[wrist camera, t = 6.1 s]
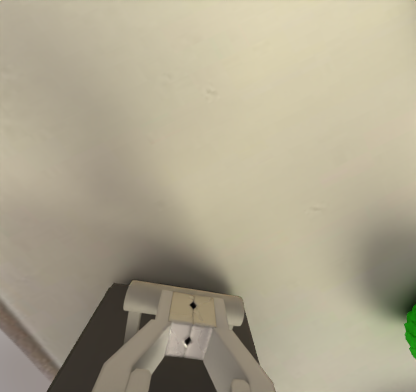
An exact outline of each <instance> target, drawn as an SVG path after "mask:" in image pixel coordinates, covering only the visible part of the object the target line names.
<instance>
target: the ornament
mask: <svg viewBox="0 0 416 392" xmlns="http://www.w3.org/2000/svg"><path fill="white" fill-rule="evenodd" d="M412 308H413V309H412V310H411V311H409V312H408V313H407V323H405V324H404V325H405V329H406V333H405V336H406V340H407V342H408V343H409V345H410V346H411V347H410V348H409V349H410V351H411V354H412V355H413V357H414V358H415V359H416V304H415V305H414V306H413V307H412Z"/></svg>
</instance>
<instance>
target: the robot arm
mask: <svg viewBox="0 0 416 392" xmlns="http://www.w3.org/2000/svg"><path fill="white" fill-rule="evenodd" d="M164 356H173V357H184V358H191V359H198V360H203V362H204V364H205V367H206V369H207V371H208V373H209V375H210V377H211V380H212V382H213V384H214V386H215V388H216V390H217V392H276V391H275V388H274V384H273V382H272V380H271V379H270V378H269V377H268V375H267V374H266V373H265V371H264V370H263V369H262V368H261V366H260V365H259V364H258V363H257V361H256V360H255V359H254V357H253V356H252V355H251V354H250V352H249V351H248V350H247V348H246V347H245V346H244V345H243V343H242V342H241V341H240V339H239V338H238V337H237V336H236V334H235V333H234V332H233V331H232V330H229V326H228V320H227V315H226V309H225V303H224V300H223V299H222V298H214V297H213V298H212V297H206V296H199V295H192V294H187V293H181V292H175V291H168V290H162V293H161V297H160V301H159V305H158V309H157V313H156V317H155V320H154V319H151V320H150V321H149V322H148V323H147V324H146V325H145V326H144V327H143V328H142V329H140V330H139V331H138V332H137V333H136V334H135V335H134V336H133V337H132V338H131V339H130V340H129V341H128V342H126V343H125V344H124V345H123V346H122V347H121V348H120V349H119V350H118V351H117V352H116V353H115V354H114V355H112V356H111V357H110V358H109V359H108V360H107V361H106V362H105V363H104V364H103V367H102V369H101V371H100V374H99V376H98V378H97V381H96V383H95V385H94V387H93V390H92V392H148V391H149V386H150V380H151V375H152V373H153V372H154V371H155V369H156V368H157V366H158V365H159V363H160V362H161V361H162V359H163V358H164Z"/></svg>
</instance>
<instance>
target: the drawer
mask: <svg viewBox="0 0 416 392" xmlns="http://www.w3.org/2000/svg"><path fill="white" fill-rule="evenodd" d="M162 290H168V291H175V292H181V293H187V294H192V295H199V296H206V297H212V298H213V297H214V298H222V299H223V300H224V303H225V309H226V315H227V320H228V326H229V330H232V331H233V332H234V333H235V334H236V336H237V337H238V338H239V339H240V341H241V342H242V343H243V345H244V346H245V347H246V348H247V350H248V351H249V352H250V354H251V355H252V356H253V357H254V359H255V360H256V361H257V363H258V364H259V361H258V357H257V354H256V350H255V346H254V343H253V339H252V335H251V332H250V328H249V324H248V321H247V317H246V313H245V310H244V303H243V300H242V298H241V297H239V296H233V295H227V294H220V293H214V292H207V291H201V290H194V289H188V288H182V287H175V286H169V285H162V284H156V283H150V282H143V281H137V280H132V282H131V283H130V285H124V284H117V283H114V284H113V285H112V287H111V289H110V290H109V292H108V294H107V295H106V297H105V299H104V300H103V302H102V304H101V306H100V307H99V309H98V311H97V312H96V314H95V316H94V317H93V319H92V321H91V322H90V324H89V326H88V327H87V329H86V331H85V332H84V334H83V336H82V337H81V339H80V341H79V343H78V344H77V346H76V348H75V349H74V351H73V353H72V354H71V356H70V358H69V359H68V361H67V363H66V364H65V366H64V368H63V369H62V371H61V373H60V375H59V376H58V378H57V380H56V381H55V383H54V385H53V386H52V388H51V390H50V391H49V392H92V390H93V387H94V385H95V383H96V381H97V378H98V376H99V374H100V371H101V369H102V367H103V364H104V363H105V362H106V361H107V360H108V359H109V358H110V357H111V356H112V355H114V354H115V353H116V352H117V351H118V350H119V349H120V348H121V347H122V346H123V345H124V344H125V343H126V342H128V341H129V340H130V339H131V338H132V337H133V336H134V335H135V334H136V333H137V332H138V331H139V330H140V329H142V328H143V327H144V326H145V325H146V324H147V323H148V322H149V321H150V320H151V319H154V320H155V317H156V313H157V309H158V305H159V301H160V297H161V293H162ZM148 392H217V390H216V388H215V386H214V384H213V382H212V380H211V377H210V375H209V373H208V371H207V369H206V367H205V364H204V362H203V360H198V359H191V358H184V357H173V356H164V358H163V359H162V361H161V362H160V363H159V365H158V366H157V368H156V369H155V371H154V372H153V373H152V375H151V380H150V386H149V391H148Z"/></svg>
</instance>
